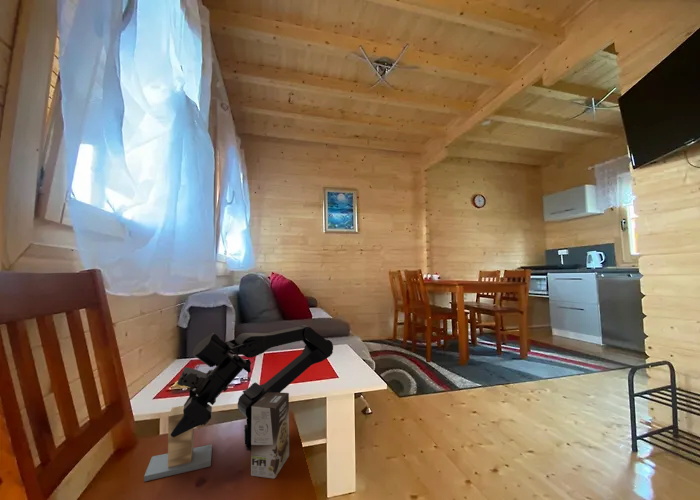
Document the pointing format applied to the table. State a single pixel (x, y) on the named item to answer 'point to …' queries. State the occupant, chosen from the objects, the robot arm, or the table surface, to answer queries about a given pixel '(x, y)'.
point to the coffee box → (269, 434)
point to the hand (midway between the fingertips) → (174, 426)
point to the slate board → (161, 469)
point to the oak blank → (179, 440)
